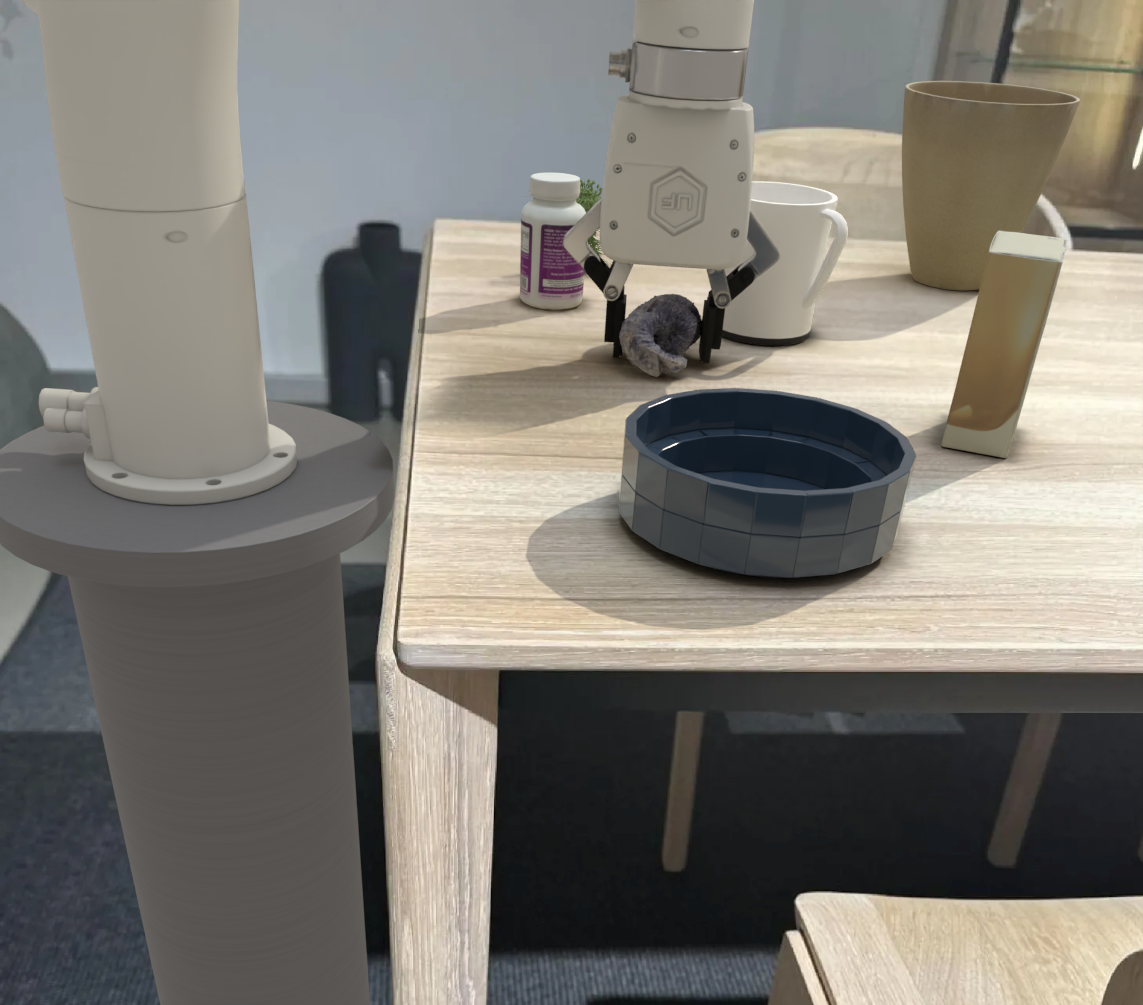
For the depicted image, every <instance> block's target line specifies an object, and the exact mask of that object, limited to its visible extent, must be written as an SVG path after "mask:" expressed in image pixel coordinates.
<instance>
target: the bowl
mask: <svg viewBox="0 0 1143 1005" xmlns="http://www.w3.org/2000/svg"><path fill="white" fill-rule="evenodd" d="M916 459H917V454H916V452H915V450H914V448H913V446H912V444H911V442H910V440H909V438H908V437H907V436H906V435H904V433H902V432H900V431H899V430H898V429H896V428H895V427H894V426H892V425H891V424H890V423H889V422H887V421H886V420H883V419H881V418H878V417H876V416H874V415H872V414H869V413H868V412H865V411H863V410H861V409H858V408H856V407H852V406H848V405H846V404H842V403H838V402H836V401H831V400H827V399H824V398H820V397H816V396H811V395H805V394H800V393H799V394H798V393H795V392H794V393H793V392H788V391H781V390H774V389H773V390H771V389H760V388H759V389H757V388H744V387H743V388H742V387H726V388H725V387H724V388H701V389H700V388H699V389H693V390H688V391H687V390H686V391H680V392H675V393H670V394H665V395H662V396H659V397H657V398H654V399H652V400H649V401H647V402H644V403H642V404H640V405H638V406H637V407H636V408H635V409H634V410H633V411H632V412H631V413H630V414H628V416H627V417H626V418H625V422H624V434H623V446H622V459H621V471H620V483H619V494H618V496H619V498H618V513H619V515H620V516H621V517H622V519H623V520H624V522H625V523H626V525H627V526H628V528H629V529H630V530H631V531H632V532H633V533H635V534H636V535H637V536H639V537H641V538H642V539H643V540H645V541H647V543H650V544H651V545H652V546H654V547H655V548H657V549H659V550H661V551H663V552H666V553H669V554H670V555H673V556H676V557H678V558H681V559H683V560H686V561H688V562H691V563H693V564H696V565H699V566H702V567H706V568H709V569H713V570H716V571H720V572H725V573H730V574H736V575H743V576H748V577H759V578H775V579H795V578H808V577H809V578H810V577H816V576H817V577H819V576H831V575H836V574H837V575H838V574H841V573H845V572H848V571H851V570H855V569H859V568H861V567H866V566H869V565H872V564H874V563H875V562H876V561H878V560H879V559H881V558H882V557H884V556H885V555H886V554H888V553H890V552H891V551H892V550H893V548H894V545H895V542H896V539H897V538H898V534H899V531H900V528H901V523H902V518H903V514H904V510H905V506H906V501H907V496H908V493H909V488H910V484H911V480H912V477H913V476H912V475H913V471H914V467H915V463H916Z"/></svg>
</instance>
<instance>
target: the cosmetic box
mask: <svg viewBox="0 0 1143 1005" xmlns="http://www.w3.org/2000/svg"><path fill="white" fill-rule="evenodd" d="M1067 243H1068V240H1067V239H1066V238H1063V237H1062V238H1061V237H1056V236H1050V235H1049V236H1048V235H1039V234H1032V233H1024V232H1021V233H1018V232H1006V231H998V232H997V233H996V234H995V236H994V238H993V240H992V243H991V246H990V249H989V253H988V257H987V261H986V265H985V269H984V273H983V277H982V281H981V286H980V289H979V290H978V294H977V299H976V302H975V306H974V310H973V315H972V318H971V323H970V328H969V331H968V336H967V339H966V344H965V347H964V351H963V355H962V360H961V363H960V367H959V372H958V376H957V380H956V384H955V388H954V392H953V395H952V400H951V403H950V408H949V411H948V415H947V420H946V423H945V428H944V432H943V436H942V440H941V447H942V448H948V449H953V450H959V451H965V452H970V453H975V454H981V455H987V456H992V457H998V458H1002V459H1007V458H1008V457H1009V454H1010V451H1011V449H1012V444H1013V441H1014V438H1015V433H1016V430H1017V428H1018V423H1019V420H1020V416H1021V413H1022V409H1023V406H1024V402H1025V399H1026V395H1027V391H1028V389H1029V384H1030V381H1031V378H1032V373H1033V371H1034V366H1035V364H1036V363H1035V362H1036V360H1037V356H1038V352H1039V348H1040V346H1041V342H1042V338H1043V335H1044V331H1045V328H1046V324H1047V320H1048V316H1049V315H1050V314H1049V313H1050V310H1051V307H1052V303H1053V300H1054V296H1055V292H1056V288H1057V284H1058V281H1059V278H1060V273H1061V270H1062V266H1063V262H1064V258H1065V254H1066V249H1067Z"/></svg>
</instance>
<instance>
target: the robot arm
mask: <svg viewBox="0 0 1143 1005" xmlns="http://www.w3.org/2000/svg"><path fill="white" fill-rule="evenodd" d="M20 2H21V3H22V4H24V6H26V7H27V8H28V9H29V10H30V11H31V12H33V13H34V14H35V15H36V16H38V24H39V31H40V39H41V40H40V41H41V47H42V57H43V68H44V80H45V89H46V98H47V103H48V104H47V106H48V114H49V122H50V128H51V135H52V142H53V148H54V154H55V161H56V166H57V170H58V177H59V182H60V187H61V193H62V197H63V200H64V207H65V212H66V218H67V222H68V228H69V233H70V239H71V246H72V250H73V255H74V262H75V266H76V272H77V278H78V284H79V289H80V295H81V300H82V305H83V312H84V316H85V321H86V327H87V333H88V339H89V344H90V349H91V355H92V360H93V361H92V362H93V366H94V367H93V368H94V372H95V378H96V382H97V386H94V387H93V388H91V390H90V392H85V391H82V392H81V391H75V390H74V389H66V388H65V389H64V388H51V387H45V388H42V389H41V390H40V392H39V395H38V409H39V413H40V415H41V417H42V419H43V426H45V429H46V430H47V431H48V432H62V433H70V432H78V433H84V435H85V437H87V438H91V443H90V444H89V446H88V447H87V449H86V451H85V452H84V464H85V468H86V473H87V477H88V478H89V479H90V481H91V482H92V483H93V484H94V485H96V486H97V487H98V488H100V489H101V490H103V491H105V492H107V493H109V494H112V495H114V496H116V497H120V498H123V499H127V500H131V501H135V502H142V503H148V504H158V505H202V504H214V503H220V502H226V501H232V500H237V499H241V498H245V497H249V496H252V495H255V494H258V493H261V492H264V491H266V490H268V489H270V488H272V487H274V486H276V485H278V484H280V483H281V482H283V481H284V480H285V479H287V478H288V477H289V476H290V475H291V474H292V472H293V471H294V470H295V468H296V465H297V461H298V460H297V451H296V444H295V442H294V440H293V439H292V437H290V436H289V435H288V434H287V433H286V432H285V431H283V430H281V429H280V428H278V427H276V426H274V425H271V424H269V423H268V413H267V403H266V400H267V393H266V384H265V372H264V364H263V363H264V362H263V354H262V343H261V342H262V341H261V332H260V324H259V322H260V321H259V312H258V302H257V301H258V300H257V293H256V292H257V291H256V290H257V289H256V282H255V272H254V270H255V269H254V262H253V261H254V260H253V253H252V252H253V251H252V242H251V241H252V239H251V230H250V229H251V228H250V219H249V210H248V200H247V193H246V184H245V172H244V165H243V164H244V162H243V151H242V142H241V127H240V110H239V88H238V84H239V83H238V82H239V80H238V78H239V75H238V72H239V71H238V68H239V67H238V65H239V64H238V62H239V30H240V29H239V27H240V26H239V24H240V21H239V20H240V0H20ZM754 3H755V0H634V12H633V27H632V28H633V29H632V46H627V49H621V50H620V51H609V57H608V72H607V73H608V74H607V75H608V76H618V77H619V78H618V79H625V81H624V82H625V83H629V86H628V87H629V88H628V93H626V94H621V95H620V96H619V97H617V100H616V104H615V106H614V110H613V115H612V119H611V125H610V129H609V136H608V143H607V149H606V155H605V156H606V157H605V164H604V173H603V174H604V175H603V182H602V183H603V184H602V189H603V190H602V191H603V192H602V193H601V196H602V198H601V199H600V200H599V201H598V202H597V203H596V204H595V205H594V206H593V207H592V208H591V209H590V210H589V211H588V212H587V213H586V214H585V215H584V216H583V217H582V218H581V219H580V220H579V221H578V222H577V223H576V224H575V225H574V226H573V227H572V228H571V229H570V230H569V231H568V232H567V233H566V234H565V236H564V239H563V246H564V248H565V249H566V250H567V251H568V252H569V253H570V255H571V256H572V257H573V258H574V259H575V260H576V261H577V262H578V264H580V265H581V266H582V267H583V269H584V273H585V274H586V275H587V276H588V277H589V279H591V281H592V282H593V283H594V284H595V285H596V287H597V288H598V289H599V291H600V292H601V293H602V295H603V297H604V299H605V300H606V307H605V323H604V336H603V337H604V338H603V342H604V343H613V346H612V358H613V359H620V357H623V353H624V351H623V350H622V346H621V344H620V339H619V335H620V331H621V327H622V322H623V321H625V319H626V314H627V313H626V312H627V295H628V294H625V285H626V283H627V280H628V278H629V276H630V273H631V271H632V269H633V266H634V265H638V266H639V265H640V266H653V267H654V266H656V267H667V268H668V267H670V268H683V269H701V270H706V273H707V277H708V282H709V286H710V290H709V291H708V294H707V297H706V299H704V300H703V308H702V315H701V320H702V329H701V334H700V338H699V343H698V344H699V345H698V356H699V362H701V363H702V364H703V365H710V364H711V356H712V350H717V351H720V350H721V345H722V338H723V337H722V331H723V322H724V314H725V308H726V307H728V306H729V305H730V303H731V301H732V300H733V299H734V298H735V297H737V296H738V295H739V294H740V293H741V292H742V291H744V290H745V289H746V288H747V287H748V286H749V285H751V284H752V283H753V281H754V280H755V279H756V278H757V277H759V276H761V275H762V274H763V273H764V272H765V271H767V270H768V269H769V268H770V267H772V266H773V265H774V264H775V263H777V261H778V260H779V258H780V254H779V251H778V249H777V247H776V246H775V244H774V243H773V241H772V240H771V239H770V237H769V236H768V234H767V233H766V231H765V230H764V229H763V227H762V226H761V224H760V223H759V221H758V220H757V219H756V217H755V216H754V214H753V213H752V212H751V210H750V204H751V192H752V181H753V178H754V166H755V165H754V160H755V157H754V156H755V117H754V116H755V115H754V107H753V106H752V105H751V104H750V103H748V102H744V101H743V99H744V98H743V96H744V90H745V82H746V72H747V65H748V57H749V46H750V40H751V39H750V38H751V30H752V22H753V14H754V7H755V6H754V5H755V4H754ZM599 228H600V230H598V229H599ZM597 230H598V231H600V232H599V238H600V239H599V240H600V245H599V246H601V247H600V248H601V249H602V251H601V253H602V254H604V255H603V256H605V257H606V258H608V259H610V260H612V262H611V263H610V266H609V265H608V263H607V262H605V260H603V259H604V258H602V257H601V256H599V253H598V254H597V253H595V251H594V250H593V248H592V247H591V246H590V244H588V239H589V238H590V237H591V236H592V235H593V234H594V233H595V232H596V233H597V232H598V231H597ZM747 240H748V241H749V242H750V244H751V245H752V247H753V248H754V253H753V255H752V256H751V257H750V258H749V259H748V260H747V261H746V262H744V263H742V264H740V265H739V266H738V267H737V268H735V269H734V270H733V271H732V272H731V273H730V274H729V275H727V276H726V273H725V269H726V268H730V267H733V266H735V265H737V264H738V263H739V262H740V261H741V260H742V258H743V255H744V251H745V246H746V241H747ZM601 249H600V250H601Z"/></svg>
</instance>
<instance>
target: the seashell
mask: <svg viewBox="0 0 1143 1005" xmlns="http://www.w3.org/2000/svg"><path fill="white" fill-rule="evenodd" d="M701 329H702V315H701V314H700V312H699V309H698V307H697V306H696V305H695V302H693V301H692V300H690V299H689V298H688V297H685V296H683V295H681V294H679V293H678V294H676V293H664V294H659V295H654V296H653V297H651V298H650V299H649V300H647V301H644V302H643V303H641V304H640V305H638V306H636V308H634V309H633V310H632V311H631V312H630V313H629V314H628V316H626V317H625V321H623V322H622V327H621V331H620V335H619V339H620V344H621V346H622V350H623V353H624V355H625V357H626V359H627V360H628V361H629V363H630V364H631V365H632V366H635V367H637V368H639V369H640V370H641V371H643V372H645V373H646V374H647V375H649V376H652V377H654V378H655V377H656V378H658V377H659V376H660V375H661V374H662V372H663V367H665V368H666V369H668V370H669V371H670V373H671V374H672V373H674V374H676V373H678V372H680V371H682V370H685V368H686V367H687V366H688V359H687V358H686V357H684V356H683V355H685V353H686V352H687V351H688V350H689V349H690V348H691V347H692V346H693V345H694V344H696V343H697V341H698V340H700V334H701Z"/></svg>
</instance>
